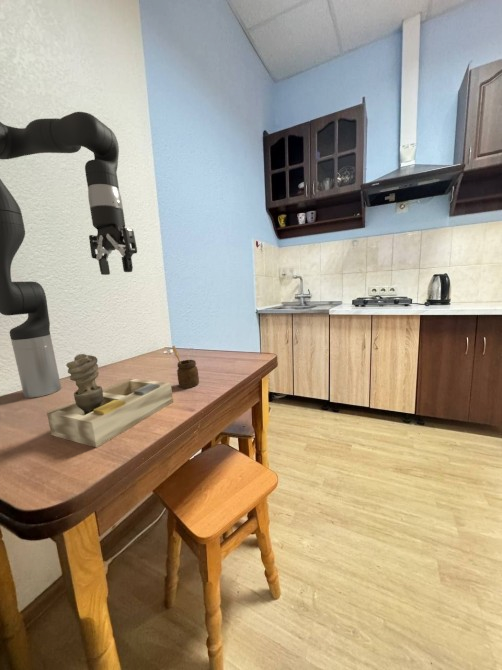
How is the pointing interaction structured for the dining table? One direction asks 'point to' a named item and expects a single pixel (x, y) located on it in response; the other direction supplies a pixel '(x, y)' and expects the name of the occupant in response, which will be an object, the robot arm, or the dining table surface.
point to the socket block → (110, 412)
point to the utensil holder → (187, 372)
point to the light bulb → (86, 382)
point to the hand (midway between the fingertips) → (116, 273)
